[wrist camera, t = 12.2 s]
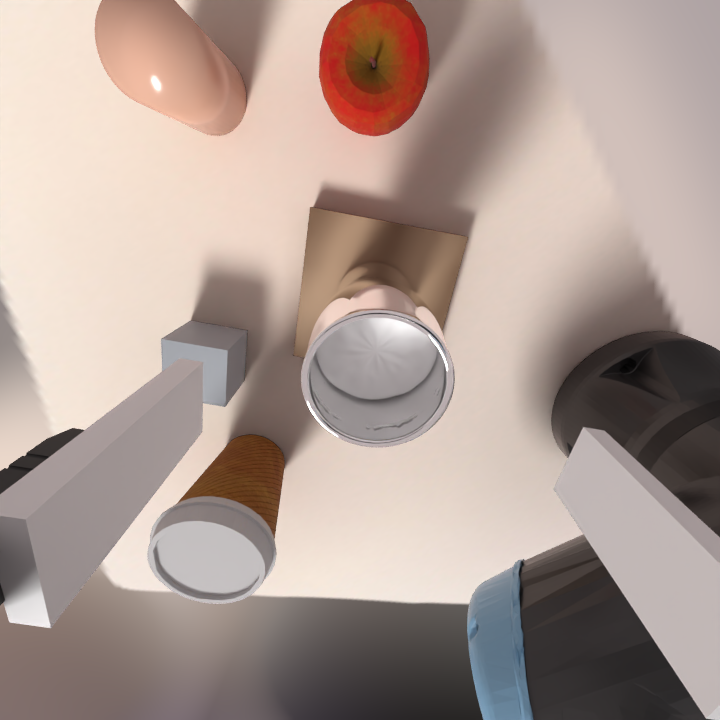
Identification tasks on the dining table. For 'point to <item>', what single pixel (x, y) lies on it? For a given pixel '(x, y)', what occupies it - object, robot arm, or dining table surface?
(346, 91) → the apple
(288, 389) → the dining table surface
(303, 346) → the walnut board
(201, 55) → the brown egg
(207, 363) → the slate block
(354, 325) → the steel tumbler
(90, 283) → the dining table surface
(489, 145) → the dining table surface
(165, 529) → the disposable coffee cup
